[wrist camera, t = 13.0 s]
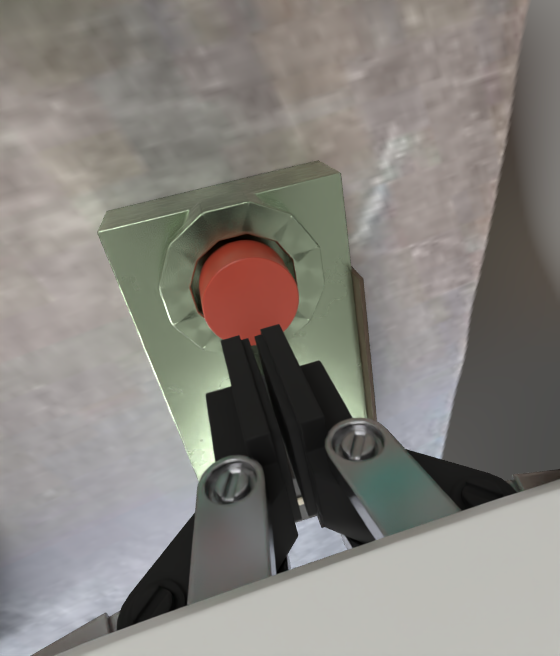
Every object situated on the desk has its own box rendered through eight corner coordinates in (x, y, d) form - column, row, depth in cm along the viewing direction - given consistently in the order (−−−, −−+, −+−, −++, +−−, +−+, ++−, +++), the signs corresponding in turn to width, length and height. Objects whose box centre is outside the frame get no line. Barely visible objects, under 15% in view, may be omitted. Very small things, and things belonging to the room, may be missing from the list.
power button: (211, 331, 19) (216, 356, 17) (187, 252, 17) (189, 272, 16) (293, 309, 19) (306, 332, 18) (278, 229, 18) (290, 246, 16)
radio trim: (276, 454, 28) (292, 510, 25) (230, 282, 22) (243, 323, 19) (361, 428, 29) (389, 480, 25) (339, 254, 23) (373, 288, 19)
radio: (206, 469, 29) (212, 537, 25) (103, 205, 20) (86, 240, 16) (353, 425, 30) (384, 483, 26) (318, 154, 21) (356, 174, 17)
